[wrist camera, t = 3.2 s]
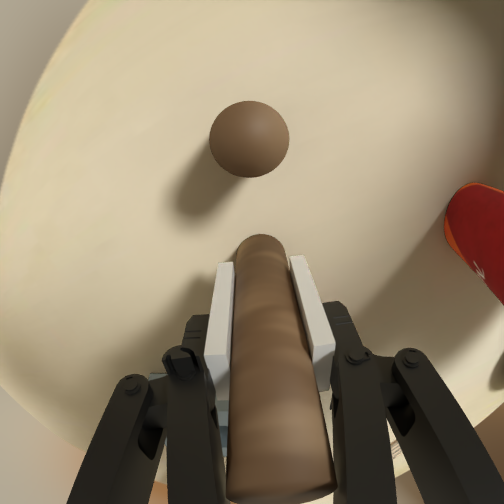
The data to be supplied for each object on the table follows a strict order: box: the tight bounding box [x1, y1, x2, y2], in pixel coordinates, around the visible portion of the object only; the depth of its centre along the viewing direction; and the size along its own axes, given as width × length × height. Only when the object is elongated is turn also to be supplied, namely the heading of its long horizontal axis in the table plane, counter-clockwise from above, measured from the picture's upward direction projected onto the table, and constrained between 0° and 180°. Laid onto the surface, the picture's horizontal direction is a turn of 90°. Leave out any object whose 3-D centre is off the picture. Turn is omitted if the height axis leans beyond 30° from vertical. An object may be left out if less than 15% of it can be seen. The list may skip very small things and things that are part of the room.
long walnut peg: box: [225, 234, 338, 504], centre depth 12 cm, size 3×3×14 cm
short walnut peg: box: [209, 101, 289, 178], centre depth 13 cm, size 3×3×5 cm
